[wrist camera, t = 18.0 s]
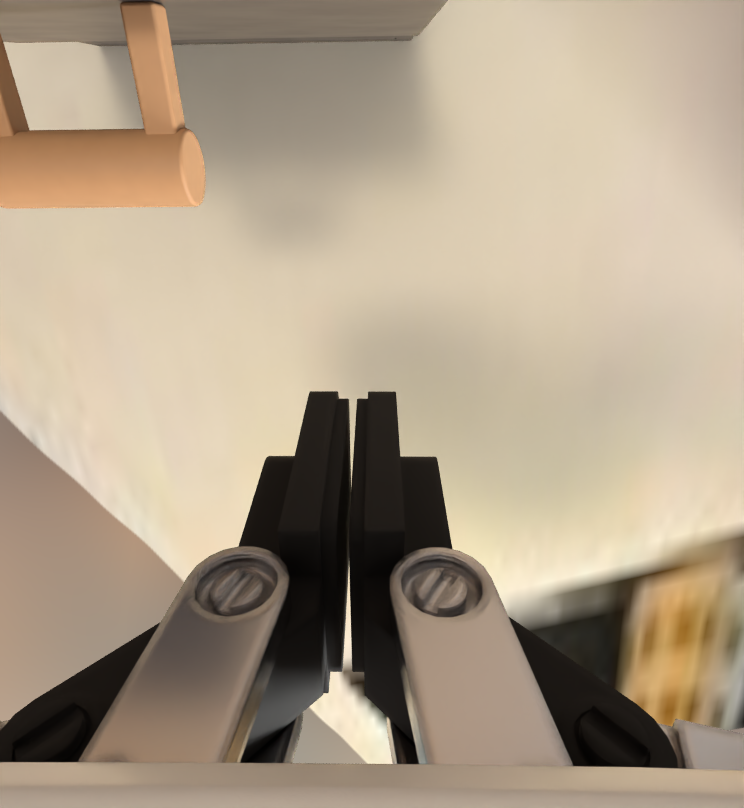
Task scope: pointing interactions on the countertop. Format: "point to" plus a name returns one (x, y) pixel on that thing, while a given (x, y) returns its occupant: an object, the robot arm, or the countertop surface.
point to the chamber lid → (151, 90)
